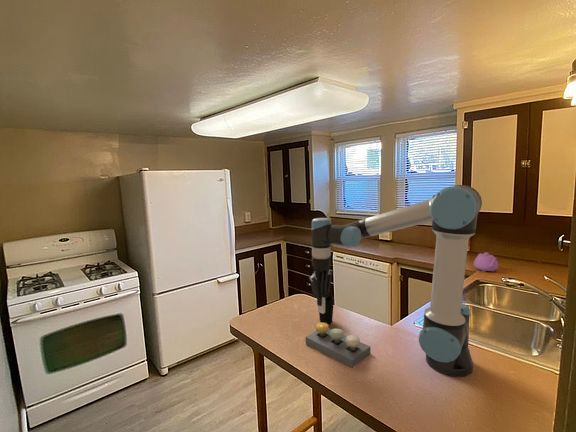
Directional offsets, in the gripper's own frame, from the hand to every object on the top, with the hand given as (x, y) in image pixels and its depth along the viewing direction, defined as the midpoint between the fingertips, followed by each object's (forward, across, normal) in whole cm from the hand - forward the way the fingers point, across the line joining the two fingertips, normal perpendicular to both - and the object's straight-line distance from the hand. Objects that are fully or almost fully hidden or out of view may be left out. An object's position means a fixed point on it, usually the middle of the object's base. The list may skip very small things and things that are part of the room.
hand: (321, 312), depth 127 cm
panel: (+13, 0, +8) cm, 15 cm away
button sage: (+10, 0, +8) cm, 13 cm away
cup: (+13, -14, -9) cm, 21 cm away
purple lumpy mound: (+13, -146, +24) cm, 148 cm away
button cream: (+10, 0, +15) cm, 18 cm away
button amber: (+10, 0, 0) cm, 10 cm away
